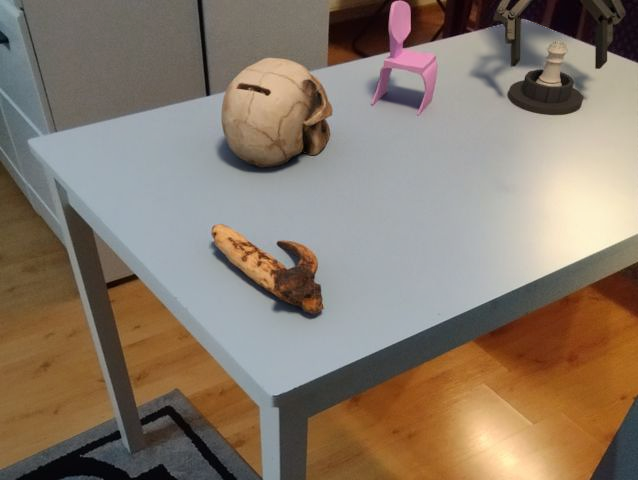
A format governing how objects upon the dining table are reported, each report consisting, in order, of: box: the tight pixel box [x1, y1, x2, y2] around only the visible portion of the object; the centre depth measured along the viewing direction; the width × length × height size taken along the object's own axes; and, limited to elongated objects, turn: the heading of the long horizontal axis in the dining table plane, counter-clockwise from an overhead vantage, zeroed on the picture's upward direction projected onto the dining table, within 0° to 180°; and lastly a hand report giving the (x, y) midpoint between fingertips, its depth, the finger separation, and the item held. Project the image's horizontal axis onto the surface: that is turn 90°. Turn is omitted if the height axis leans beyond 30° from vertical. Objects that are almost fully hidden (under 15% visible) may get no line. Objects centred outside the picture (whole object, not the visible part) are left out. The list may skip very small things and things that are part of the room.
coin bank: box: [220, 57, 334, 168], centre depth 95 cm, size 16×17×13 cm
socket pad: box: [507, 68, 584, 116], centre depth 113 cm, size 12×12×4 cm
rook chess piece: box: [536, 40, 569, 86], centre depth 111 cm, size 4×4×8 cm
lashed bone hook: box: [211, 223, 325, 315], centre depth 76 cm, size 9×5×18 cm
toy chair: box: [370, 0, 439, 116], centre depth 106 cm, size 8×9×15 cm
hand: (558, 64), depth 108 cm, fingers open, 13 cm apart
